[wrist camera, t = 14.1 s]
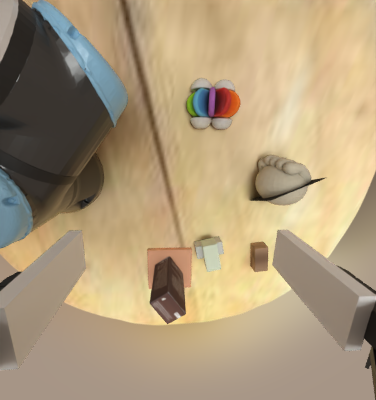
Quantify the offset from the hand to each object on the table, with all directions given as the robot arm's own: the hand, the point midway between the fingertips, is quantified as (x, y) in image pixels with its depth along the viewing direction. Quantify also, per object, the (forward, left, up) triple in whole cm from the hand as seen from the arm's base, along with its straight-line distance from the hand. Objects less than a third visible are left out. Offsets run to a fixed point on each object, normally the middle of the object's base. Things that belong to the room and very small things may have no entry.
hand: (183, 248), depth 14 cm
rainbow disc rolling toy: (+7, +14, -32) cm, 36 cm away
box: (-1, -22, -31) cm, 38 cm away
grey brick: (+8, -16, -32) cm, 37 cm away
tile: (-1, -22, -32) cm, 38 cm away
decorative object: (+20, 0, -32) cm, 38 cm away
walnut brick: (+20, -19, -32) cm, 42 cm away
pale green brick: (+8, -16, -29) cm, 34 cm away
